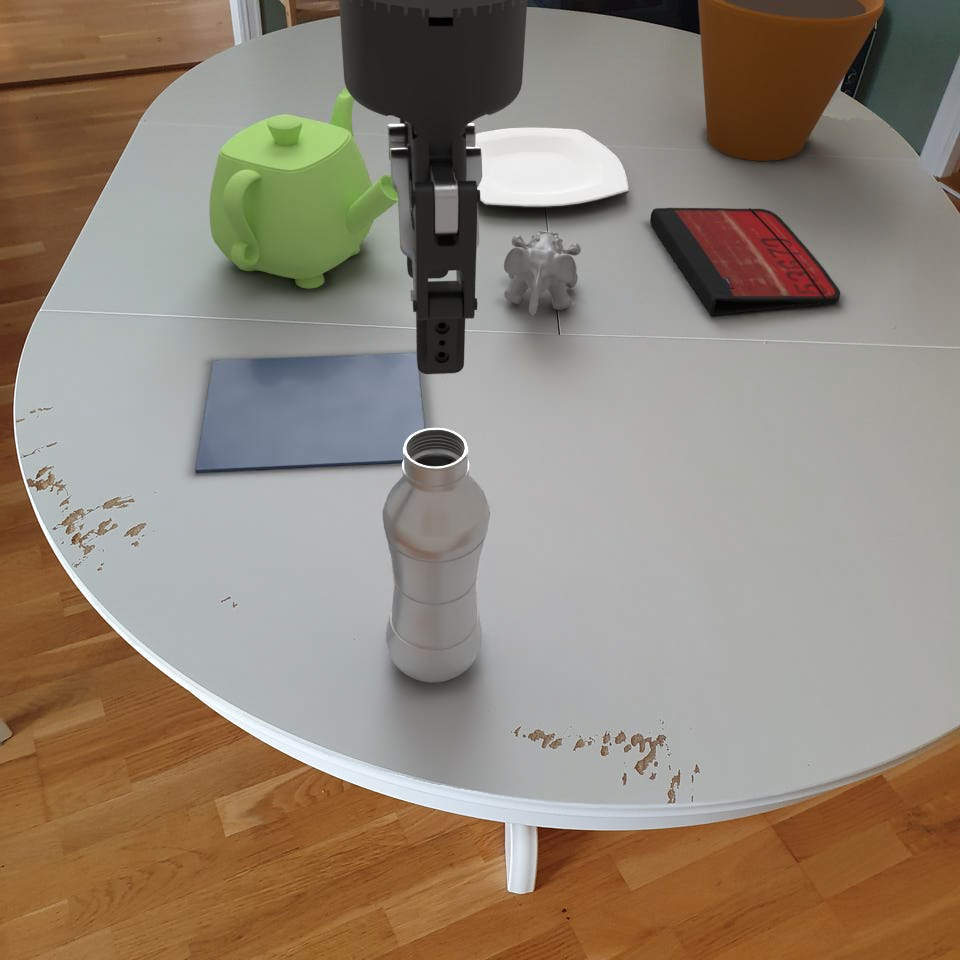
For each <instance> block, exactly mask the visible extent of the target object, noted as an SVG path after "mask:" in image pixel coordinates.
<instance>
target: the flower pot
mask: <svg viewBox="0 0 960 960" xmlns="http://www.w3.org/2000/svg"><path fill="white" fill-rule="evenodd" d="M697 3H698V4H697V5H698V6H697V7H698V19H699V34H700V49H701V63H702V79H703V94H704V110H705V111H704V112H705V125H706V126H705V127H706V138H707V142H708V143H709V144H710V145H711V146H712V148H714V149H715V150H717V151H718V152H720V153H722V154H725V155H727V156H729V157H733V158H735V159H736V158H737V159H740V160H746V161H755V162H774V161H781V160H785V159H788V158H791V157H793V156H795V155H797V154H799V153H800V152H801V151H802V149H803V148H804V146H805V144H806V142H807V141H808V139H809V137H810V136H811V134H812V132H813V130H814V129H815V127H816V125H818V124H817V123H818V122H819V120H820V119H821V117H822V115H823V113H824V112H825V110H826V109H827V107H828V106H829V104H830V102H831V100H832V98H834V95H835V93H836V92H837V90H838V88H839V87H840V85H841V83H842V82H843V80H844V78H845V76H846V74H847V73H848V71H849V69H850V67H852V65H853V63H854V61H855V60H856V58H857V56H858V54H859V53H860V51H861V49H862V48H863V46H864V44H865V42H866V41H867V39H868V37H869V35H870V34H871V32H872V30H873V29H874V28H875V26H876V24H877V22H878V20H879V19H880V17H881V15H882V14H883V12H884V9H885V8H884V7H885V0H697Z"/></svg>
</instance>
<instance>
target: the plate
mask: <svg viewBox="0 0 960 960" xmlns="http://www.w3.org/2000/svg"><path fill="white" fill-rule="evenodd" d="M475 135H476V142H475V147H476V146H480V147H481V154H482V180H481V182H480V184H479V186H478V188H477V190H480V203H482V204H483V205H484V206H488V207H489V206H490V207H506V208H526V209H527V208H529V209H531V208H532V209H537V208H538V209H539V208H542V209H545V208H546V209H547V208H550V209H551V208H565V207H571V206H579V205H583V204H589V203H592V202H597V201H601V200H605V199H610V198H613V197H616V196H619V195H623V194H627V193H629V190H630V189H629V182H628V178H627V172H626V171H625V167H624V166H623V163H622V162H621V160H620V159H619V157H618V156H617V155H616V154H615V153H614V152H613V151H612V150H610V149H609V148H608V147H607V146H605V145H604V144H603V143H601V142H600V141H598V140H597V139H595V138H594V137H592V136H590V135H589V134H587V133H585V132H584V131H583V130H580V129H577V128H576V129H575V128H574V129H573V128H556V127H509V128H500V129H494V130H487V131H482V132H477V133H475Z"/></svg>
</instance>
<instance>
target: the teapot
mask: <svg viewBox="0 0 960 960" xmlns="http://www.w3.org/2000/svg"><path fill="white" fill-rule="evenodd" d="M355 101H356V100H355V99H354V98H353V97H352V96H351V95H350V93H349V92H348V90H347V88H346V87H344V89H342V90H341V91H340V92H339V94H338V96H337V97H336V100H335V103H334V106H333V109H332V113H331V118H330V122H329V123H327V122H324V121H318V120H315V119H311V118H306V117H301V116H297V115H293V114H277V115H274V116H271V117H268V118H264V119H261V120H260V121H257V122H255V123H253V124H252V125H249V126H247V127H245V128H244V129H242V130H240V131H239V132H238V133H236V134H235V135H233V136H232V137H231V138H229V139H228V140H227V141H226V142H225V143H224V144H223V146H222V147H221V148H220V150H219V153H218V157H217V160H216V164H215V169H214V172H213V173H214V174H213V179H212V182H211V188H210V196H209V227H210V234H211V238H212V240H213V242H214V243H215V246H217V248H218V249H219V250H220V251H221V253H222V254H223V255H224V256H225V257H226V258H227V259H228V260H230V261H232V262H233V264H234V265H236V266H237V268H238V269H240V270H242V271H245V272H254V271H258V272H264V273H266V274H271V275H275V276H279V277H283V278H288V279H294V280H295V285H297V286H298V287H299V288H303V289H316V288H319V287H321V286H322V285H324V283H325V276H324V274H325V273H327V272H328V271H330V270H331V269H334V268H336V267H337V266H338V265H340V264H342V263H343V262H345V261H346V260H347V259H349V258H350V257H353V256H356V255H358V254H359V253H360V251H361V248H360V246H361V245H362V244H363V242H364V241H365V239H366V237H367V236H368V234H369V232H370V230H371V228H372V225H373V223H374V221H375V220H376V219H378V218H379V217H381V215H383V214H384V213H385V212H386V211H388V210H389V209H390V208H391V207H393V206H394V205H396V203H397V204H398V194H397V192H396V191H395V190H394V189H393V187H392V183H391V174H383V175H382V176H381V177H379V179H378V180H376V181H375V182H374V183H373V184H372V179H371V176H370V173H369V170H368V168H367V165H366V163H365V160H364V158H363V155H362V153H361V151H360V149H359V146H358V144H357V142H356V140H355V137H354V129H353V107H354V102H355Z"/></svg>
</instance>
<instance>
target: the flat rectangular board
mask: <svg viewBox="0 0 960 960" xmlns="http://www.w3.org/2000/svg"><path fill="white" fill-rule="evenodd" d="M207 389H208V390H207V395H206V400H205V401H206V402H205V407H204V414H203V420H202V426H201V432H200V437H199V444H198V449H197V457H196V463H195V468H194V469H195V470H194V472H195V473H211V472H212V473H213V472H235V471H256V470H273V469H293V468H294V469H296V468H315V467H318V468H319V467H335V466H337V467H338V466H356V465H357V466H358V465H378V464H380V465H381V464H398V463H401V464H402V463H403V460H404V456H403V448H404V444H405V442H406V440H407V439H408V438H409V437H410V436H411V435H412V434H414V433H416V432H418V431H420V430H424V429H426V428H425V418H424V408H423V399H422V390H421V380H420V371H419V370H418V366H417V352H403V353H401V352H400V353H373V354H348V355H347V354H346V355H322V356H321V355H320V356H296V357H295V356H289V357H267V358H266V357H264V358H263V357H262V358H237V359H235V358H234V359H214V360H212V363H211V371H210V377H209V382H208V388H207Z"/></svg>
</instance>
